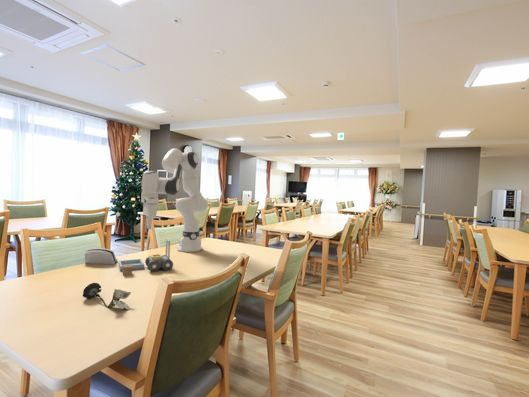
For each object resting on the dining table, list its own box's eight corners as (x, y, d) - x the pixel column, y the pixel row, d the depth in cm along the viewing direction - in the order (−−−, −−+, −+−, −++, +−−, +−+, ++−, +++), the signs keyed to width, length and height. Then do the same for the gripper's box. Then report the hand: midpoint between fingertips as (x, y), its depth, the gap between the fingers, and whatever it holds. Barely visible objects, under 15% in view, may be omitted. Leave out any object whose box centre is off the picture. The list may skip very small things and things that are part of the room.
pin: (146, 228, 152) (146, 216, 152) (150, 228, 154) (151, 215, 153) (146, 229, 150) (147, 216, 150) (151, 229, 152) (151, 216, 151)
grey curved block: (118, 261, 162) (115, 247, 158) (114, 266, 158) (111, 251, 154) (89, 260, 162) (86, 246, 158) (85, 265, 157) (81, 250, 153)
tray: (118, 265, 156) (118, 260, 155) (141, 262, 162) (141, 258, 162) (119, 271, 145) (119, 266, 145) (143, 268, 152) (144, 264, 152)
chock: (122, 273, 143) (122, 264, 143) (130, 272, 145) (131, 263, 145) (123, 275, 139) (123, 267, 139) (131, 274, 141) (132, 266, 141)
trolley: (148, 272, 145) (149, 243, 144) (145, 266, 155) (146, 239, 154) (173, 270, 152) (174, 241, 151) (168, 264, 162) (169, 238, 161)
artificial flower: (101, 297, 116) (110, 274, 117) (130, 319, 103) (139, 293, 105) (79, 298, 108) (89, 273, 109) (107, 322, 96) (118, 294, 97)
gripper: (140, 198, 158) (139, 221, 159) (146, 200, 141) (145, 226, 142) (152, 198, 162) (151, 221, 162) (159, 200, 145) (158, 226, 145)
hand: (148, 224), depth 152 cm, fingers closed on pin, 2 cm apart
